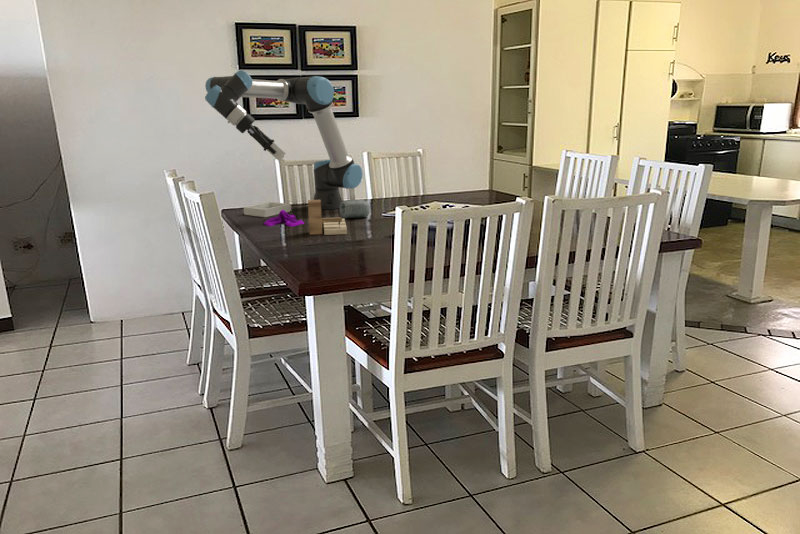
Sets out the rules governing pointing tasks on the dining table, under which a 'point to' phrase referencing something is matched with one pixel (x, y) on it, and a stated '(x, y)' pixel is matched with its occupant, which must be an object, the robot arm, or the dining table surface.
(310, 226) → the tan angular block
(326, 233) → the board
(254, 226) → the dining table surface
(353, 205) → the spool
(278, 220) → the cloth
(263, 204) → the white shallow tray
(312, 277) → the dining table surface
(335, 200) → the robot arm
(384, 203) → the dining table surface
